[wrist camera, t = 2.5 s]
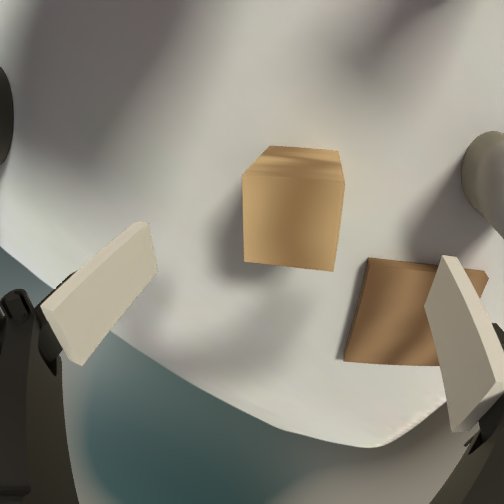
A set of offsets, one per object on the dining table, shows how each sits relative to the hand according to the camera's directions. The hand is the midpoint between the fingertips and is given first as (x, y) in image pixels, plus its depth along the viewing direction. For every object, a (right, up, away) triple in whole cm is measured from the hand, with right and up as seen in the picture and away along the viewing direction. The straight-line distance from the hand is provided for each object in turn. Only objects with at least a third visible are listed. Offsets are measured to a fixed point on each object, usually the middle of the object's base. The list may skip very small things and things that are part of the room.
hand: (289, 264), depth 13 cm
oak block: (+2, +6, +9) cm, 11 cm away
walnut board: (+14, -6, +13) cm, 20 cm away
